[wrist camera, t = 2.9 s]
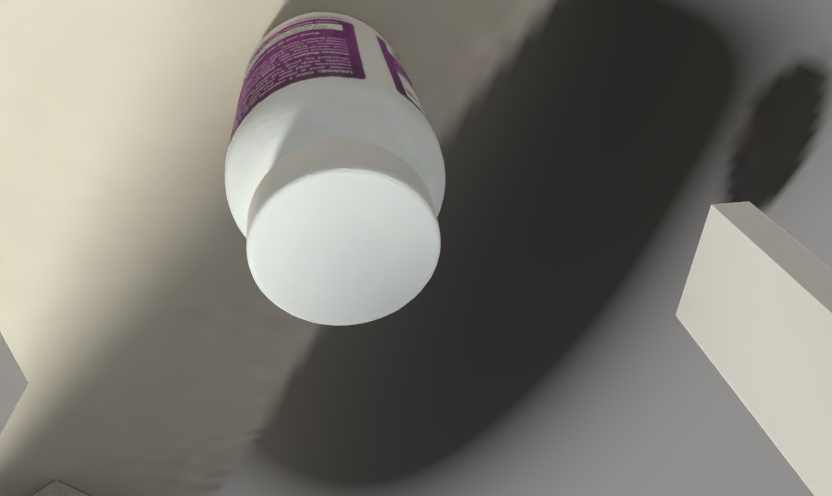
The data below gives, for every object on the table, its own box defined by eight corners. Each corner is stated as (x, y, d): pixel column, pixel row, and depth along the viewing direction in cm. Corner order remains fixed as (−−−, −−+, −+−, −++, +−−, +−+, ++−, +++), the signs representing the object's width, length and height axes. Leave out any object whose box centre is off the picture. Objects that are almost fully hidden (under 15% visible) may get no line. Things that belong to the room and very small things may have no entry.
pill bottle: (230, 140, 20) (182, 329, 12) (266, -18, 18) (235, 94, 10) (377, 180, 22) (418, 367, 14) (430, 42, 19) (517, 177, 11)
